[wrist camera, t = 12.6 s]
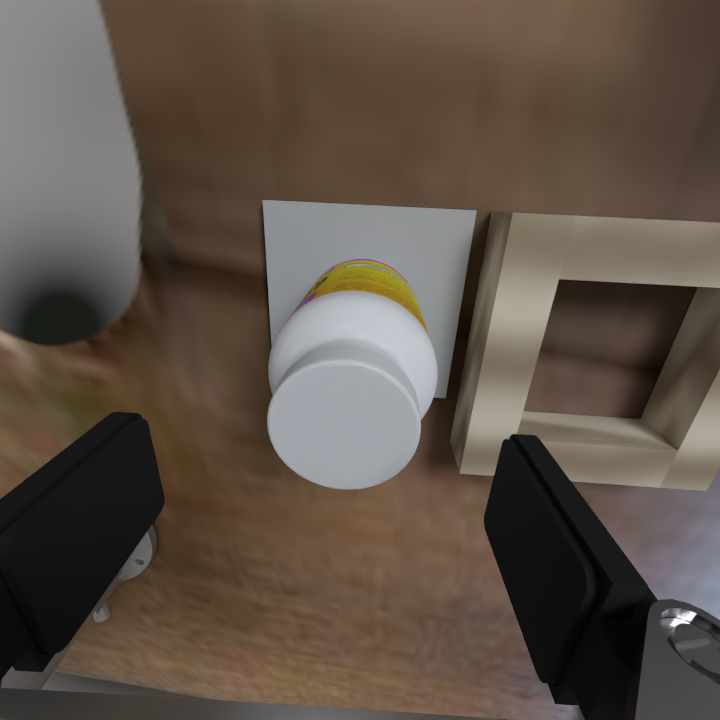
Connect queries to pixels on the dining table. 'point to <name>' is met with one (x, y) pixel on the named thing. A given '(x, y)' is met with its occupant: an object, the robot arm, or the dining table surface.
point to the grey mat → (377, 241)
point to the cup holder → (527, 327)
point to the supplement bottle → (351, 377)
